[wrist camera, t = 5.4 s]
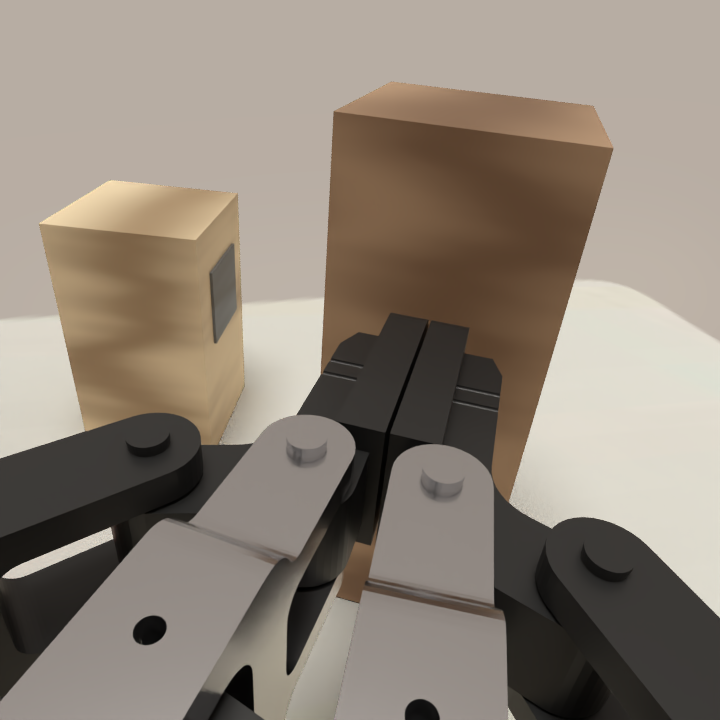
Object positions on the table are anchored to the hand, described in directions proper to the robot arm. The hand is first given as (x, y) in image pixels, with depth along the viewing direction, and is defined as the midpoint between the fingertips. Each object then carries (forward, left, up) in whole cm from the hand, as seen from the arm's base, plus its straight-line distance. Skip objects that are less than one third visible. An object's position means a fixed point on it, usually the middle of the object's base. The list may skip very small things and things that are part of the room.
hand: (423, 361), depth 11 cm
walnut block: (0, +4, -10) cm, 11 cm away
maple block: (-11, +8, -10) cm, 17 cm away
